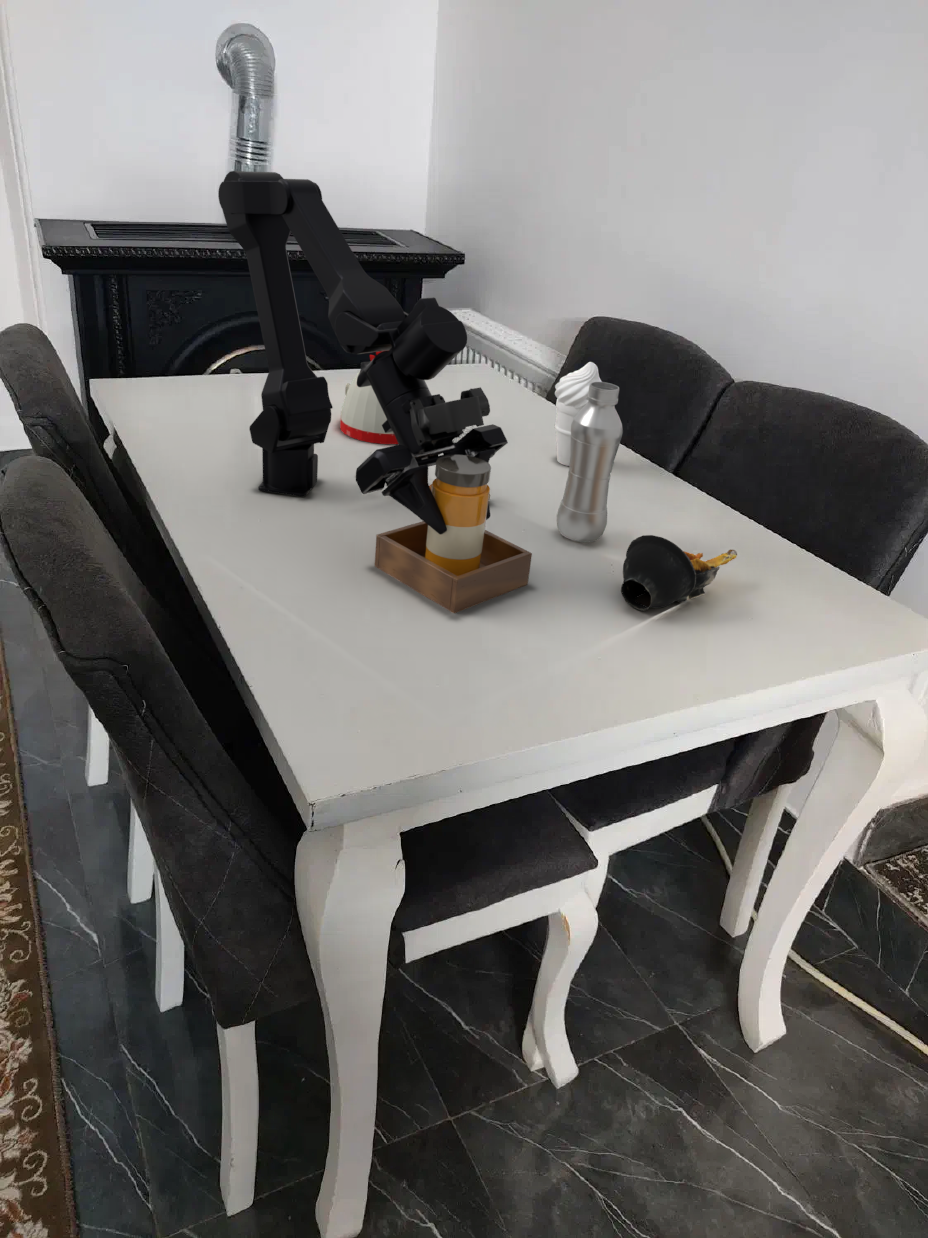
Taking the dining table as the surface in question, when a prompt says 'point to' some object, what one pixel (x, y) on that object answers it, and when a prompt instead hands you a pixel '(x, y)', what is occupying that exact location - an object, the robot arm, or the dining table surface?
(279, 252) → the robot arm
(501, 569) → the wooden box
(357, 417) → the kitchen timer
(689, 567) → the fried shrimp in bowl
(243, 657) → the dining table surface
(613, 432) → the silver metal bottle
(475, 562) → the jar
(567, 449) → the ice cream cone
